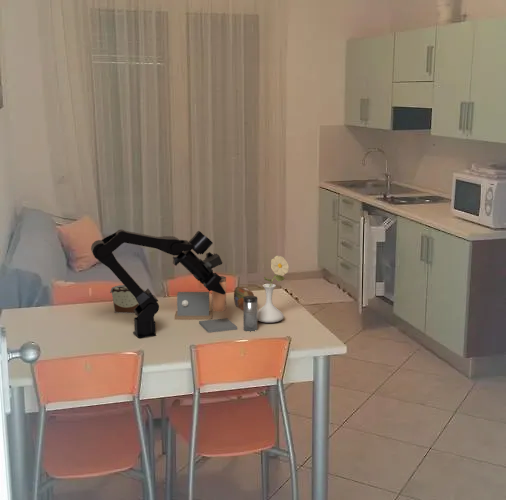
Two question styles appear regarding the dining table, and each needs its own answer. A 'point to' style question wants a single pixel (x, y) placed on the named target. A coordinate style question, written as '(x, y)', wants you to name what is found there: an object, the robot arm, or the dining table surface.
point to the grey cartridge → (250, 313)
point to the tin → (241, 296)
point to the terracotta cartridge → (219, 297)
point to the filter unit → (193, 306)
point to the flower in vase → (269, 310)
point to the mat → (218, 325)
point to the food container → (123, 300)
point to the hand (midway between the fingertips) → (222, 291)
